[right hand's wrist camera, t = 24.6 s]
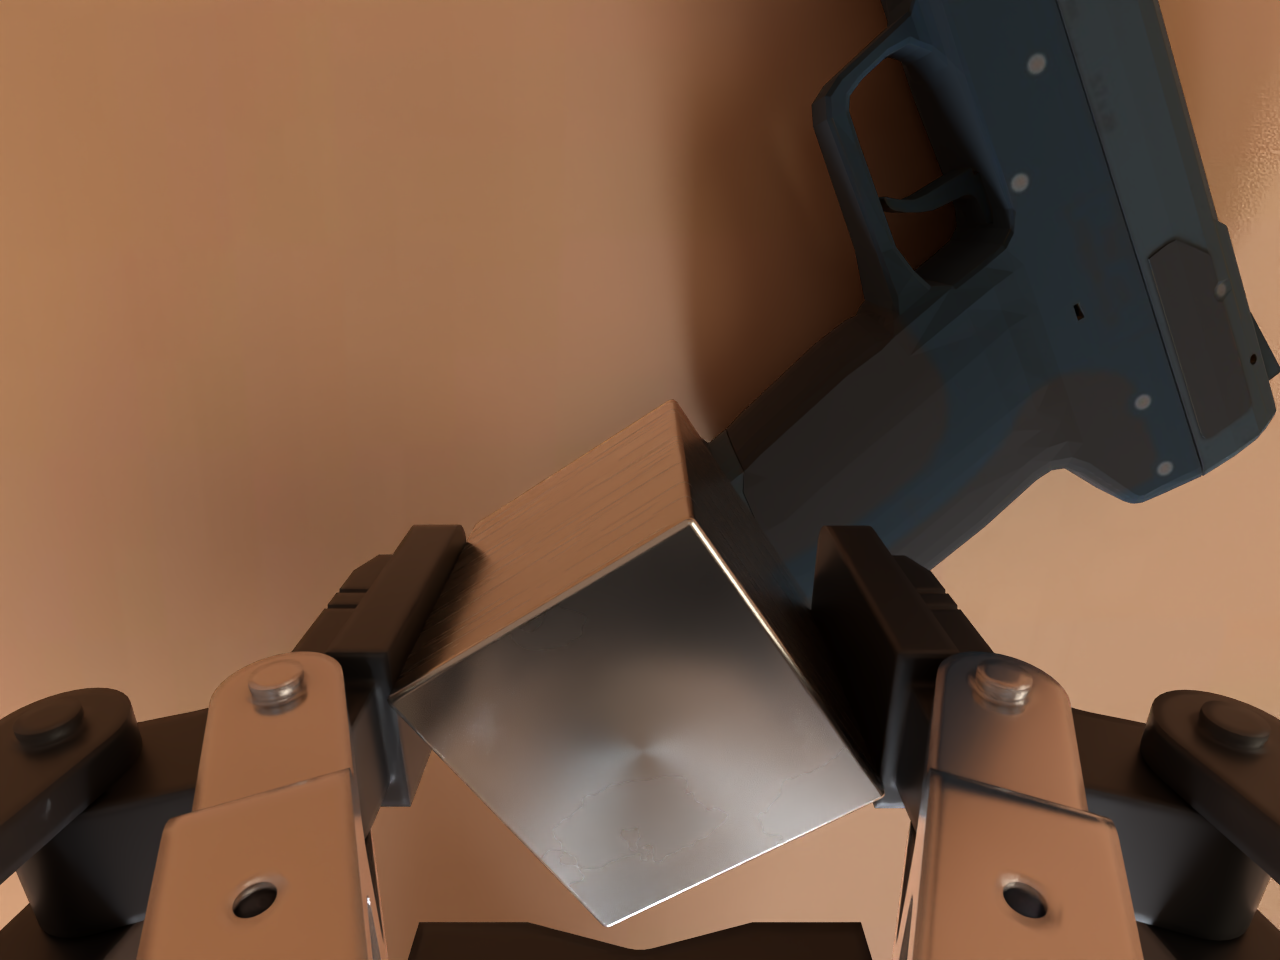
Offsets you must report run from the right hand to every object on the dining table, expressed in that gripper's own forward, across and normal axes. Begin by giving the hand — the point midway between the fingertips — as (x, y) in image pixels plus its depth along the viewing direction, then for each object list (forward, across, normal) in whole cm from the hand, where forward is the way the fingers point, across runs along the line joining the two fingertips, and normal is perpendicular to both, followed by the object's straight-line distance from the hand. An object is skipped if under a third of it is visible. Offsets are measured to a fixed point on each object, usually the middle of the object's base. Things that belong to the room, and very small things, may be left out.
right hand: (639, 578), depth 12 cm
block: (+1, 0, 0) cm, 1 cm away
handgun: (+7, -5, -6) cm, 10 cm away
